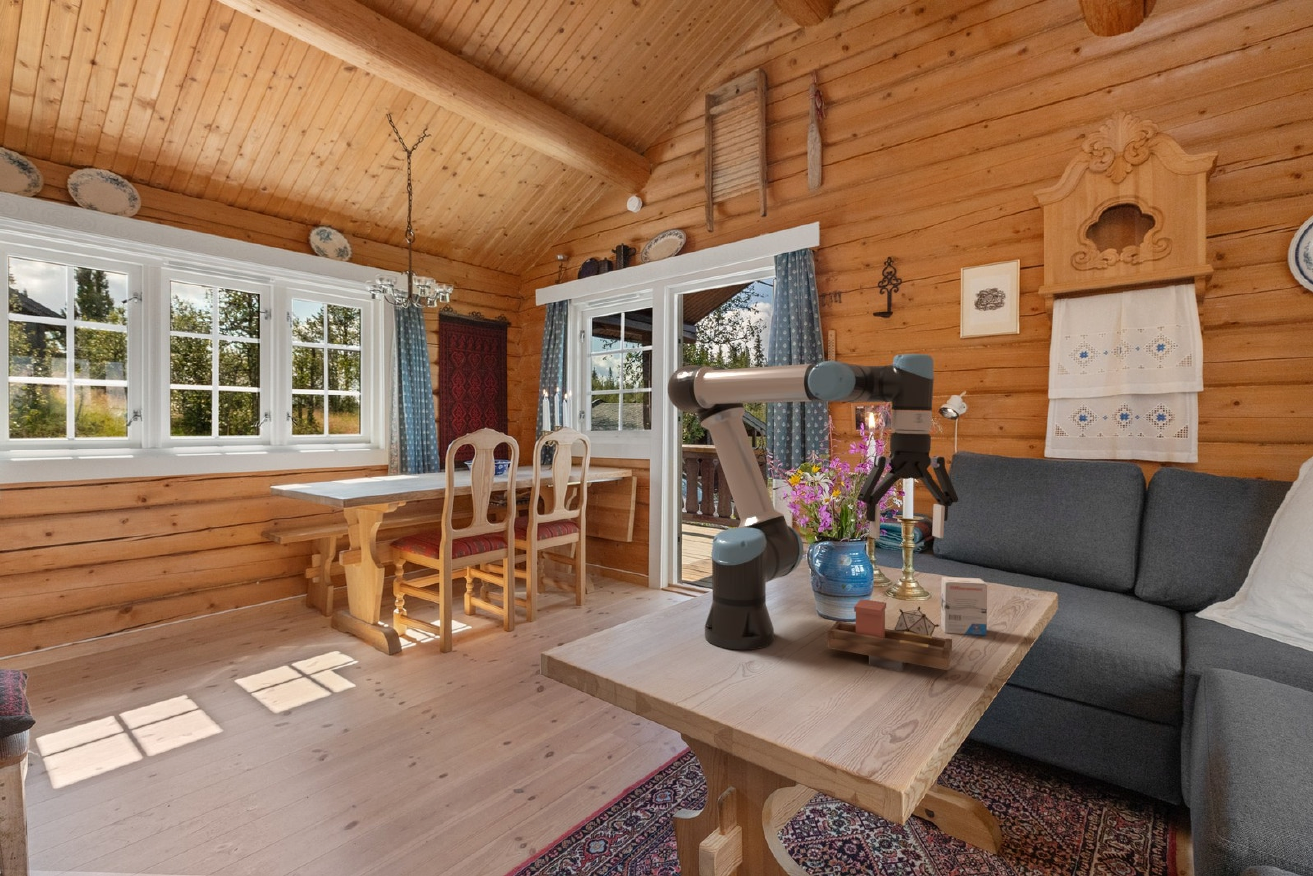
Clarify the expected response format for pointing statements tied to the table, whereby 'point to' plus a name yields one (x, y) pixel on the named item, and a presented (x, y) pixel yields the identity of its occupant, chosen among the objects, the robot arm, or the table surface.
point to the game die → (915, 623)
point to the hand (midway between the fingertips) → (906, 537)
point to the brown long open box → (892, 647)
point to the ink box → (964, 606)
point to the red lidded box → (870, 617)
